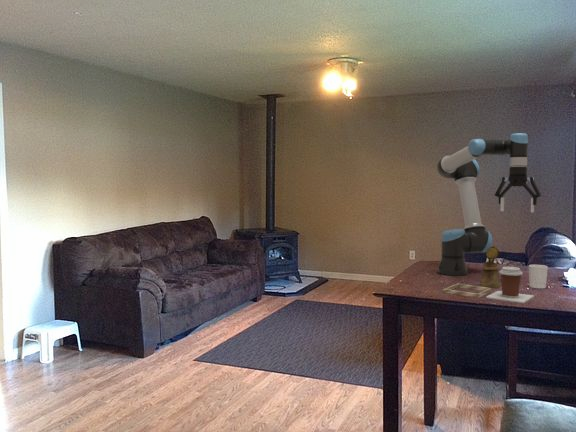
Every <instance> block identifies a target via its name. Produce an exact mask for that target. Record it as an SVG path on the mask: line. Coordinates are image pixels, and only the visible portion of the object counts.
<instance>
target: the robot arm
mask: <svg viewBox="0 0 576 432" xmlns="http://www.w3.org/2000/svg"><path fill="white" fill-rule="evenodd" d="M528 138H529V137H528V134H527V133H525V132H517V133H516V132H515V133H511V134H510V138H505V139H504V138H503V139H502V138H501V139H500V138H499V139H498V138H496V139H493V138H492V139H491V138H473V139H471V140H470V141H469V143H468V145H467V146H465V147H464V148H462V149H459V150H458V151H456V152H454V153H453V154H451V155H445V156H444V157H441V158H440V159H439V160H438V162H437V164H436V170H437V173H438V174H439V175H440V176H441V177H443V178H445V179H453V180H454V184H455V185H456V186H458V193H459V198H460V203H461V209H462V216H463V220H464V228H452V229H446V230H444V231H443V232H442V233H441V240H440V241H441V257H440V261H439V263H438V267H437V273H438V272H439V273H438V274H440V273H441V274H440V275H444V274H446V275H445V276H466V275H468V268H467V265H466V259H465V254H481V253H486V250H487V249H488V248H490V247H492V246H493V236H492V233H491V232H490V231H489V230H486V229H487V228H486V225H484V224H482V218H481V214H480V208H479V207H480V206H479V201H478V195H477V190H476V185H475V183H476V181H477V180H478V177H479V174H480V165H479V163H478V161H477V160H476V159H478V158H480V157H482V156H506V155H507V156H509V166H510V167H509V174H508V175H509V176H508V177H506V176H502V178H501V181H500V184H499V185H498V187H497V190H496V192H495V193H494V197H497V198H498V204H499V205H500V212H504V211H505V197H504V196H505V195H506V194H507V193H508V192H509V191H510V189H511V188H513V187H523V188H524V189H525V190H526V191H527V192H528V194H529V195H530V196H531V198H530V213H535V206H536V205H537V203H538V202H537V200H538V198H541V197H542V193H541V191H540V190H539V188H538V186H537V184H536V181H535V177H534V176H530V177H528V167H527V166H528V149H529V146H528V145H529V139H528ZM527 181H528V182H530V185H531V187H532V189H533V190H532V189H531V187H530V186H529V185H528V184H527V183H526V182H527ZM506 182H509V183H508V184H507V186H506V187H505V188H504V186H505V185H506ZM503 188H504V189H503Z"/></svg>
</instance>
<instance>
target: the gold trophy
mask: <svg viewBox="0 0 576 432" xmlns="http://www.w3.org/2000/svg"><path fill="white" fill-rule="evenodd" d="M499 256H500V251H499V249H498V247H495V246H494V245H491V247H490V248H488V249H487V250H486V252H485V257H486V258H487V259H488V261H484V262H483V265H482V266H481V268H482V271H481V279H480V282H479V283H480V285H479V287H486V288H492V289H499V288H501V283H500V278H499V277H500V276H499V266H498V263H497V262H495V259H497V258H498V257H499Z"/></svg>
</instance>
